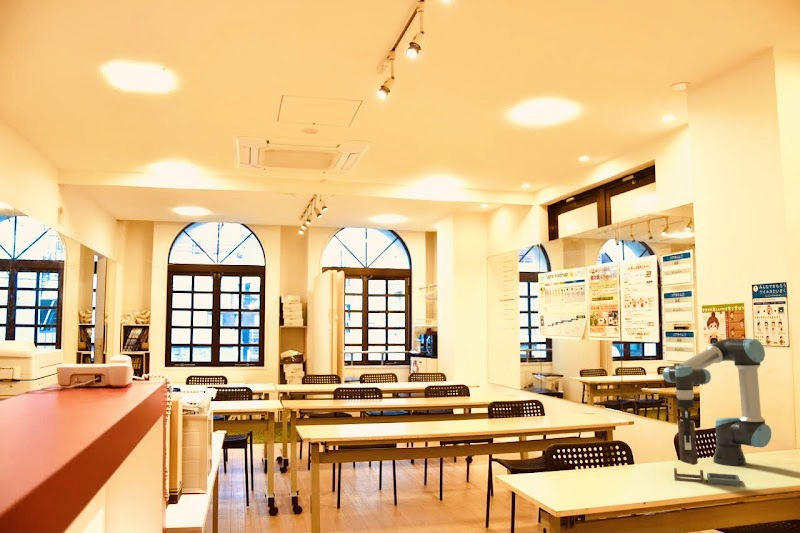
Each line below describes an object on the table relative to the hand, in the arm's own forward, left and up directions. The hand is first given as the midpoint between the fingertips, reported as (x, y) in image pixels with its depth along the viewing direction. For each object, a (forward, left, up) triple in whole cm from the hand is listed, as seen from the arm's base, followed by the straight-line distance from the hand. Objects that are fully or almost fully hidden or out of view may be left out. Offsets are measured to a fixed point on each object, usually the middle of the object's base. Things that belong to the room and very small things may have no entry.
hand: (687, 447), depth 302 cm
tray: (+1, +14, -14) cm, 20 cm away
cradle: (0, 0, -14) cm, 14 cm away
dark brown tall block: (0, 0, -7) cm, 7 cm away
